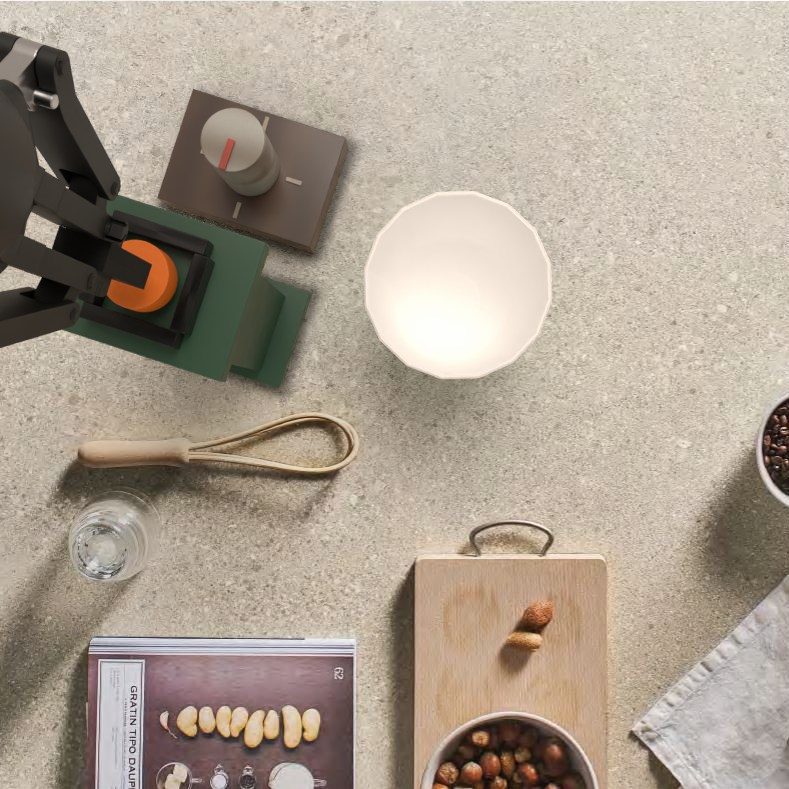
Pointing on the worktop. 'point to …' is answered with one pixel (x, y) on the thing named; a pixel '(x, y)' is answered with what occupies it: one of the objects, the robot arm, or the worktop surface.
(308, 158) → the dial panel
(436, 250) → the cup
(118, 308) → the control post
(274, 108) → the worktop surface
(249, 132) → the dial
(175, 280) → the button
